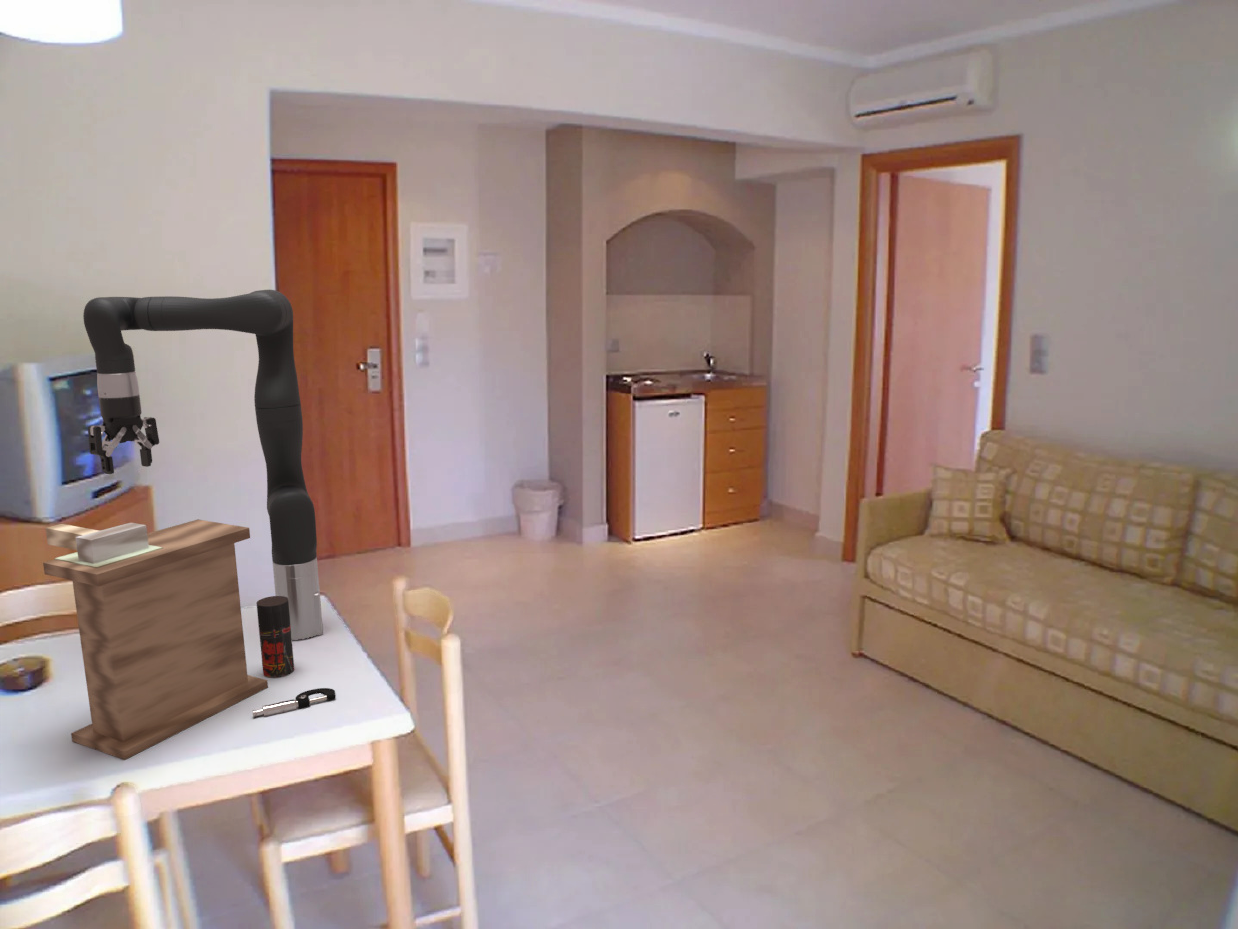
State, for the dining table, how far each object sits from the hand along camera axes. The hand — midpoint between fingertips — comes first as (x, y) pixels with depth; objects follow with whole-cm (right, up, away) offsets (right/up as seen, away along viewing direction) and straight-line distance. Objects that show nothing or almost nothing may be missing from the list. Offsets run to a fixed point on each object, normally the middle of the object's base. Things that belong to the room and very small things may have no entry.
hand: (128, 469), depth 194 cm
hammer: (+12, -13, -36) cm, 40 cm away
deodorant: (+36, -41, -10) cm, 55 cm away
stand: (+22, -44, -26) cm, 56 cm away
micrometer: (+43, -44, -23) cm, 66 cm away
